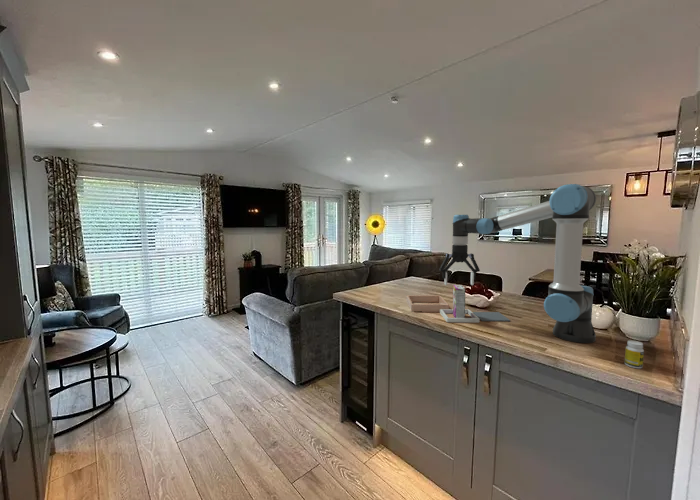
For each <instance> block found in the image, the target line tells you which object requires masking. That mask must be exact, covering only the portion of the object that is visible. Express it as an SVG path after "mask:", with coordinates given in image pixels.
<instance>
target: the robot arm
mask: <svg viewBox="0 0 700 500" xmlns="http://www.w3.org/2000/svg"><path fill="white" fill-rule="evenodd" d="M596 203H597V196H596V193H595V192H594V190H593V189H592V188H590V187H589V186H586V185H581V184H577V183H569V184H564V185H560V186H559V187H556V189H554V190H553V192H552V193H551V194H550V197H549V200H546V201H544V202H541V203H537V204H534V205H530V206H528V207H524V208H521V209H517V210H514V211H510V212H507V213H504V214H500V215H496V216H494V217H489V218H487V217H482V218H479V217H478V218H477V217H476V218H470V217H469V215H468V214H454V215H453V218H452V246H451V249H452V250H451V253H445V258H444V259H443V261H442V263H441V265H440V267H439V268H438V269H439V272H442V278H443V279H444V283H443V284H444V286H448V270H449V269H450V268H451V267H452V266H453V265H454V264H455V263H465V265H466V266H467V267H468V268H469V269H470V270H471V272H470V285H471V286H474V284H475V281H474V280H475V279H476V278H477V276H476V275H477V272H480V271H481V270H480V267H479V265H478V263H477V261H476V260H475V254H474V253H468V250H469V249H468V244H469V243H468V241H469V234H477V235H478V234H479V235H486V234H487V235H490V234H491V233H492V234H494V233H499V232H501V231H504V230H509V229H512V228H516V227H520V226H525V225H528V224H532V223H535V222H540V221H543V220H548V219H551V218H552V221H554V223H555V224H556V229H555V245H554V246H555V247H554V262H553V264H554V265H553V281H552V282H551V283H550V284H549V285H548V292H547V293H548V295H547V297H545V299H544V302H543V309H544V311H545V312H546V315H548V316H549V317H550V319H552V320H555V324H554V326H553V328H552V334H553V336H555V337H556V338H559V339H561V340H563V341H564V340H565V341H568V342H574V343H578V344H579V343H580V344H590V343H595V342H596V339H597V335H596V331H595V329H594V328H595V327H594V325H593V323H592V319H593V318H592V317H593V316H592V315H593V304H594V302H593V300H594V289H593V287H591V286H589V285H588V286H587V285H582V284H580V282H581V281H580V280H581V279H580V277H581V265H582V264H581V263H582V249H583V231H584V223H586V222H587V221H589V218H590V216H589V215H590V211H591V210H592V209H593V208H594V206H595V205H596ZM450 258H452V259H451V260H450V261H449V259H450ZM469 258H470V261H471V263H472V264H471V263H470V262H469V261H468V259H469ZM448 261H449V263H448ZM472 265H473V266H472Z"/></svg>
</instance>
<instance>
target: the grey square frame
mask: <svg viewBox="0 0 700 500" xmlns="http://www.w3.org/2000/svg"><path fill="white" fill-rule="evenodd" d="M473 312H474V311H472V310H470V309H466V308H465V315H466V314H467V315H469V316H470V317H465V318H455V317H448V314H453V308H452V309H450V308H449V309H440V312H439V314H440V315H441V317H443V319H444V321H445V322H447V323H480V319H479V318H478V317H477V316H476V315H475V314H474V313H473Z"/></svg>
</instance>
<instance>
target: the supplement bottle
mask: <svg viewBox="0 0 700 500" xmlns="http://www.w3.org/2000/svg"><path fill="white" fill-rule="evenodd" d="M624 350H625V351H624V353H625V355H624V365H626V366H627V367H630V368H634V369H638V370H639V369H643V368H644V367H643V366H644V356H645V350H644V343H643V342H641V341H637V340H629V339H628V340H627V344H626V346H625V349H624Z"/></svg>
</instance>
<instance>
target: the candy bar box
mask: <svg viewBox="0 0 700 500" xmlns="http://www.w3.org/2000/svg"><path fill="white" fill-rule="evenodd" d="M452 290H453V291H452V309H453V313H452V315H453V318H466V314H465V309H466V289H465V287H464V286H463V285H462V284H453V285H452Z"/></svg>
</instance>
